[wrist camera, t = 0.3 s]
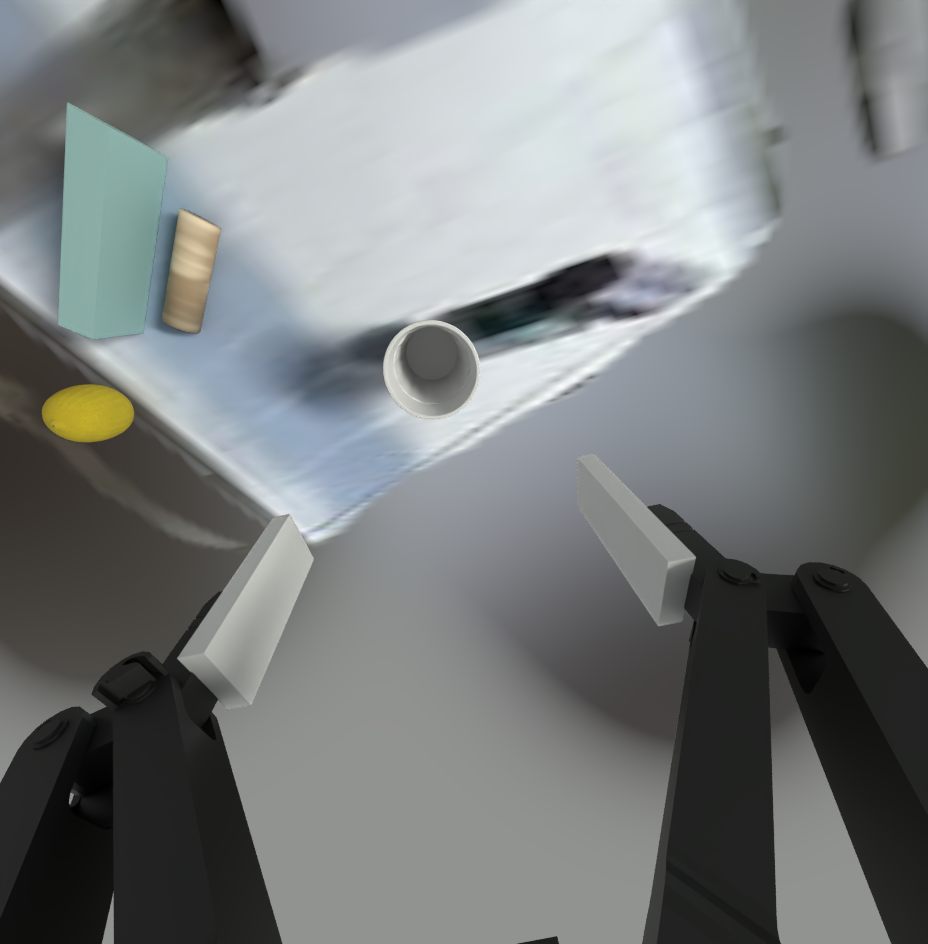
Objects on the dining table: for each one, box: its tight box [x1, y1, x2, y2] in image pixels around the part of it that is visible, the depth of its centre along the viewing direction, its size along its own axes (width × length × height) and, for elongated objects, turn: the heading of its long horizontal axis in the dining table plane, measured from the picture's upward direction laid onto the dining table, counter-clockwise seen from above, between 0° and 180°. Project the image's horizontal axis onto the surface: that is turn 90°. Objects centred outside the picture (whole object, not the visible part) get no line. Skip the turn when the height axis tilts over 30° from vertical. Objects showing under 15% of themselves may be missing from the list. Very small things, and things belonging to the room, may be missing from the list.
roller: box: [162, 208, 221, 333], centre depth 32 cm, size 10×3×3 cm, turn 152°
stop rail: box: [58, 102, 168, 339], centre depth 29 cm, size 2×16×6 cm, turn 151°
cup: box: [383, 320, 480, 419], centre depth 33 cm, size 8×8×12 cm
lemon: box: [42, 384, 134, 442], centre depth 35 cm, size 6×6×8 cm
